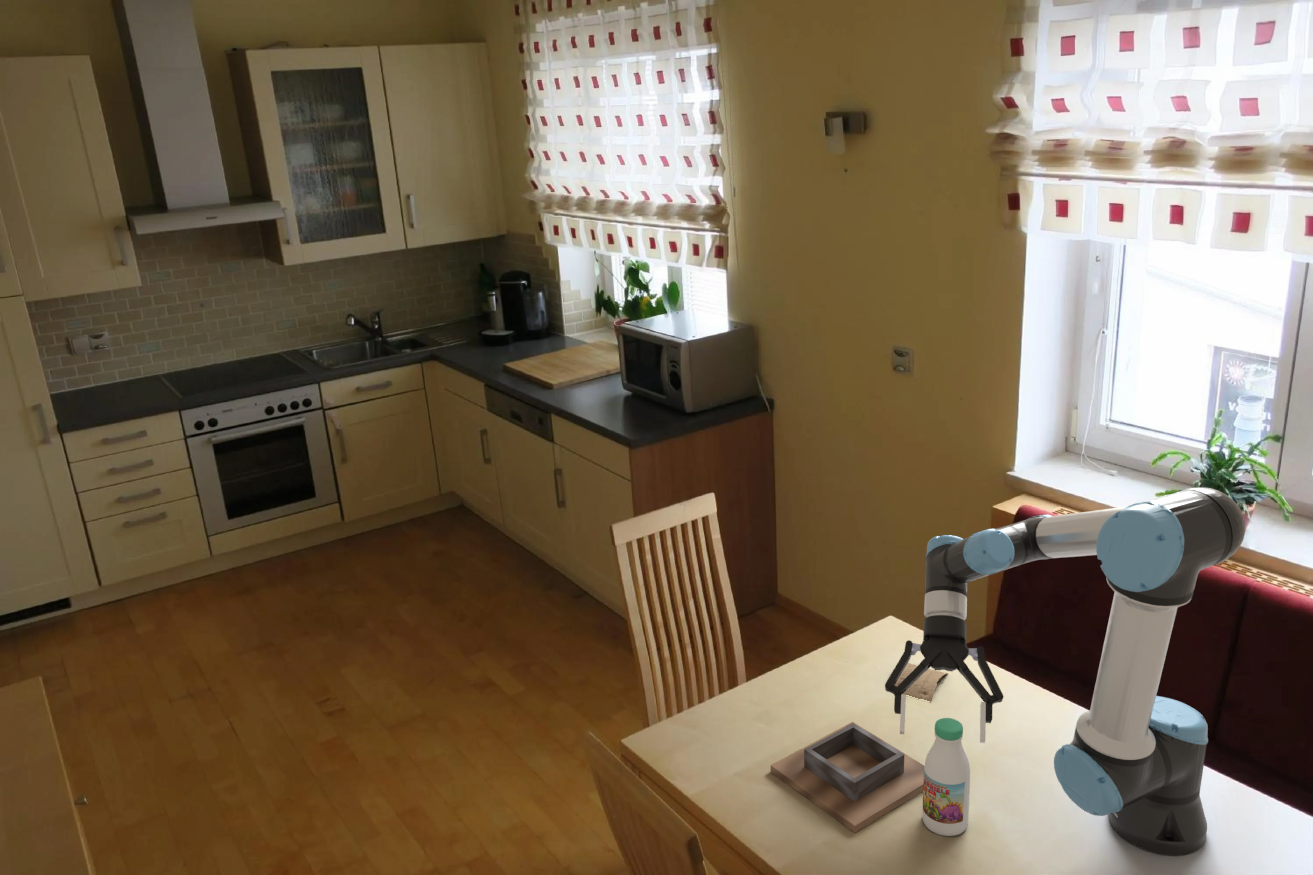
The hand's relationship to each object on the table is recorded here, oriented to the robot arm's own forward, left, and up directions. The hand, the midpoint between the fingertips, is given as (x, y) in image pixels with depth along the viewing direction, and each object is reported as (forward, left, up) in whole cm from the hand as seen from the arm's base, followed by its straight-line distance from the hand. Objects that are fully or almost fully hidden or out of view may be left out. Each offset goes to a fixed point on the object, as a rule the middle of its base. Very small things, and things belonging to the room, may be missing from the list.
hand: (941, 737), depth 179 cm
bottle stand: (+15, +6, -14) cm, 22 cm away
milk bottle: (-4, +3, -14) cm, 15 cm away
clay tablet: (+29, -28, -15) cm, 43 cm away
